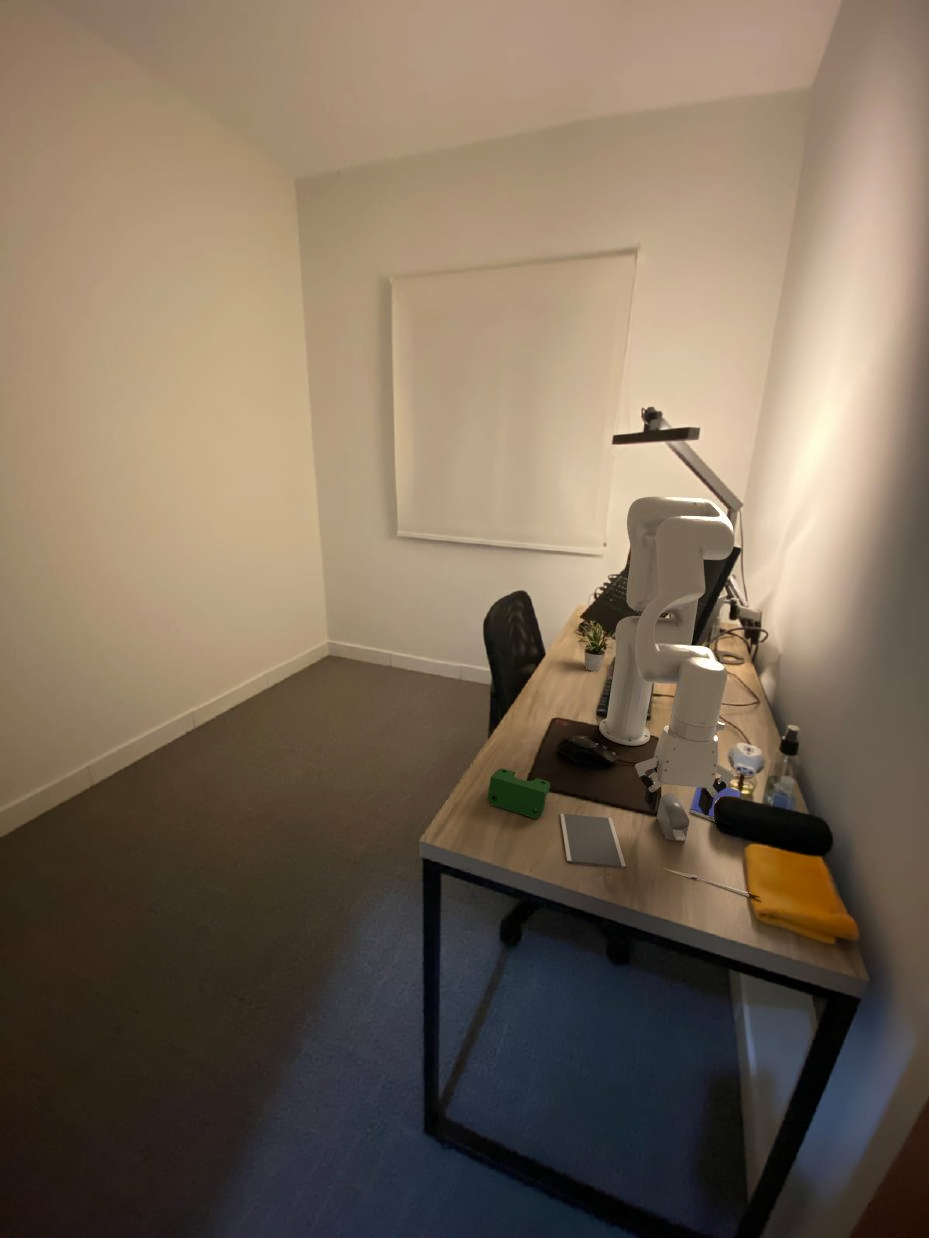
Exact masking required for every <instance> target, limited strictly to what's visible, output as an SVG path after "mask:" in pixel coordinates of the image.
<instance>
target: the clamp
mask: <svg viewBox="0 0 929 1238" xmlns="http://www.w3.org/2000/svg"><path fill="white" fill-rule="evenodd" d="M515 775H516V771H513V770H509V769H507V768H498V769H497V770H496V771H495V772H494V773H493V774H492V775H491V776H490V780H489V786H488V793H487V800H488V803H489V804H490V805H492V806H494V807H498V808H501V809H504V810H507V811H511V812H513V813H517V814H520V815H523V816H526V817H529V818H532V819H539V818H541V817H542V815H543V813H544V812H545V807H546V802H547V801H546V800H547V796H548V794H549V792H550V788H551V783H550V782H549V781H548V780H545V779H542V778H537V777H535V779H534V780H523V779H521V778H518V777H516V776H515Z"/></svg>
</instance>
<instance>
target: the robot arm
mask: <svg viewBox="0 0 929 1238" xmlns="http://www.w3.org/2000/svg"><path fill="white" fill-rule="evenodd" d="M627 511H628V513H627V517H626V527H627V528H626V531H627V535H628V540H629V546H630V560H629V568H628V576H627V577H628V578H627V585H626V603H627V605H628V607H629V608H630V609H632V610H634V611H638V612H639V611H640V612H642V613H641V615H637V616H636V615H631V616H626V617H623V618H622V619H621V620H619V621H618V622H617V624H616V628H615V633H614V637H615V657H614V659H615V660H614V666H613V667H614V668H613V673H612V675H613V676H612V682H611V688H610V694H609V695H610V696H609V701H608V706H607V707H608V709H607V716H606V718H604V719H603V720H601V721H600V723H599V728H598V729H599V731H600V733H601V735H603V736H604V738H607V739H608V740H610V741H612V742H613V743H617V744H620V745H624V746H633V747H634V746H641V745H644V744H646V743H648V742H649V741H650V739H651V733H650V730H649V729H648V727H646V723H647V715H648V712H649V707H650V705H649V704H650V700H651V695H652V694H651V693H652V689H653V684H667V685H670V684H671V685H676V686H675V691H674V697H673V702H672V703H673V704H672V708H671V714H670V720H669V725H664V727H663V729H662V731H661V733H660V736H659V738H658V740H657V744H656V746H655V750H654V754H653V756H652V758H649V759H646V760H644V761H640V762H638V763H636V764H635V765H634V767H635V770H636V772H637V775H638V777H639V779H640V781H641V783H642V784H644V786H645V795H644V802H645V804H646V805H647V806H648V808H649V811H650V812H651V811H652V812H655V810H656V806H657V803H658V802H657V801H658V796H659V795H658V794H659V793H658V791H657V790H658V789H659V788H661V787H662V786H663V785H668V786H678V787H679V786H680V787H688V788H689V787H690V788H697V787H701V788H702V789H701V794H700V798H699V803H698V805H699V807H700V809H701V811H702V812H703V814H704V815H706V816H708V815H709V811H710V809H711V808H712V804H713V800H714V797H717V796H718V793H719V792H720V791H722V790H724V789H725V788H726V787H728V786H727V785H729V784H730V783H731V781H733V780H734V778H735V776H734V774H733V772H731V770H729V769H728V768H726V767H724V766H722V765H721V764H718V763H719V738H718V736H717V734H718V731H724V730H725V727H726V725H725V723H724V722H720V721H719V719H720V713H721V709H722V704H723V700H724V695H725V690H726V685H727V681H728V675H729V673H728V670H727V668H726V667H725V666H724V664H722V663H721V662H719V661H718V658H717V656H716V654H715V653H714V651H713V650H712V649H710V648H709V647H707V646H703V645H692V642H693V636H694V630H695V623H696V617H697V612H698V604H699V603H698V602H699V598H702V596H704V594H705V593H706V579H705V578H706V576H705V567H704V560H708V561H709V560H711V561H722V560H725V559H727V558H728V557H729V556H730V555H731V554H732V552H733V549H734V547H735V541H736V540H735V539H736V537H735V532H734V530H735V529H734V527H733V524H732V522H731V521H730V519H729V518H728V517H727V516H726V514H725V513H724V512H723V511H722V510H721V508H719V506H717V505H716V504H715V503H714V502H712V501H711V500H709V499H704V498H697V497H696V498H694V497H693V498H692V497H676V496H675V497H674V496H644V497H641V498H637V499H636V500H634V501H633V502H632V503H631V505H630V507H629V509H628V510H627ZM663 613H666V614H670V617H660V616H661V615H662V614H663ZM649 770H652V771H653V772H652V773H651V774H650V775H647V774H646V772H647V771H649ZM717 775H720V776H719V778H717V779H716V777H717Z"/></svg>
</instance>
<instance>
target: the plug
mask: <svg viewBox="0 0 929 1238" xmlns="http://www.w3.org/2000/svg"><path fill="white" fill-rule="evenodd" d="M657 809H658V810H657V814H656V819H657V821H658V823H659V826H660V829H661V831H662V833H663V836H664V838H665V840H667V841H668V840H669V841H677V842H678V841H679V842H686V839H687V836H688V835H687V834H688V830H689V827H690V819H689V818H690V817H688V814H687V813H686V810H685V809H684V806H683V805H682V803H681V800H680V799H679V796H678V795H676V794H675V793H671V792H670V793H669V792H667V793H665V794H663V795H662V796H661V797H660V798H659V804H658V808H657Z"/></svg>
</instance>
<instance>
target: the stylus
mask: <svg viewBox="0 0 929 1238" xmlns="http://www.w3.org/2000/svg"><path fill="white" fill-rule="evenodd" d="M663 870H666V871H668V872H672V873H674V874H677V875H679V876H682V877H686V878H689V879H693V880H695V879H699V880H701V881H704V882H707V883H709V884H712V885H715V886H716V887H720V888H722V889H725V890H728V891H731V892H734V893H735V894H736V893H737V894H740V895H741V896H742V895H743V896H744V897H747V898H750V897H749V894H748V892H749V891H745V890H741V889H737V888H734V887H731V886H727V885H723V884H720V883H717V882H712V881H709V880H706V879H702V878H700V877H701V876H699V875H695V874H692V873H685V872H681V871H677V870H672V869H669V868H665V867H664V868H663Z"/></svg>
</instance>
